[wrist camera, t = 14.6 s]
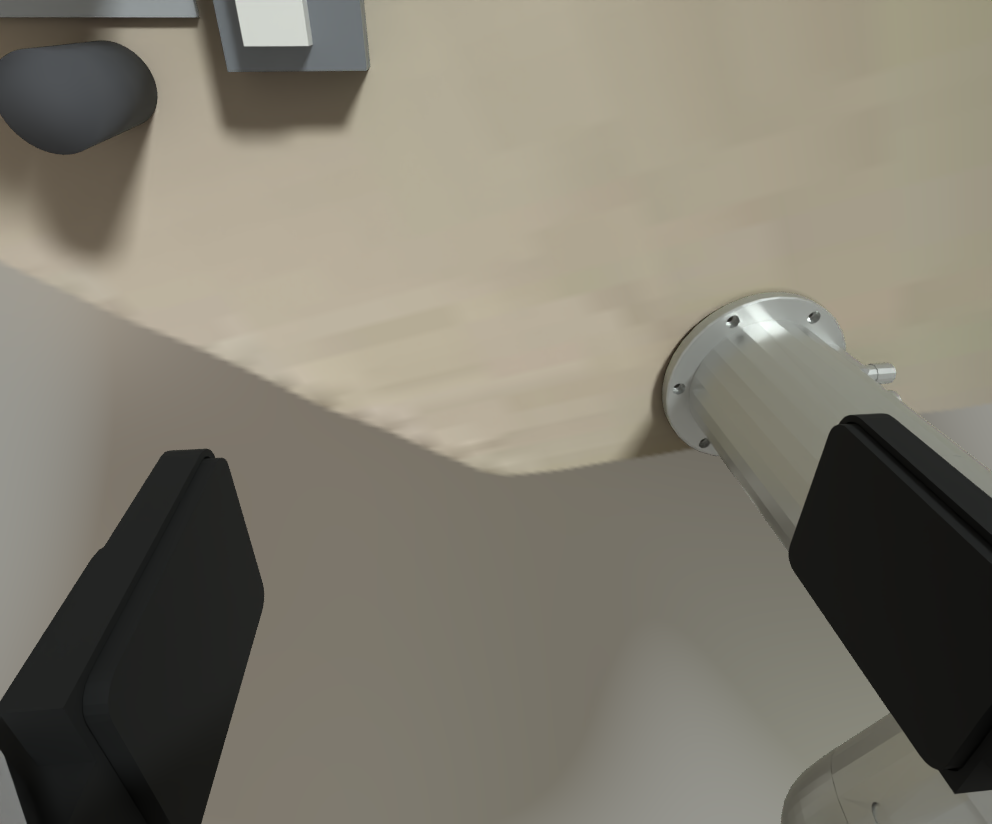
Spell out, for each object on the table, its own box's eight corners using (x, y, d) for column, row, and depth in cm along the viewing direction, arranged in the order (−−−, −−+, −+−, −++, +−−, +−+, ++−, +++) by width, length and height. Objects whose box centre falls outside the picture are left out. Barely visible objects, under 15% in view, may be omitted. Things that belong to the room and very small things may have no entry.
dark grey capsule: (132, 32, 28) (65, 38, 22) (171, 116, 30) (120, 142, 24) (55, 51, 28) (-32, 61, 22) (100, 134, 30) (31, 164, 24)
